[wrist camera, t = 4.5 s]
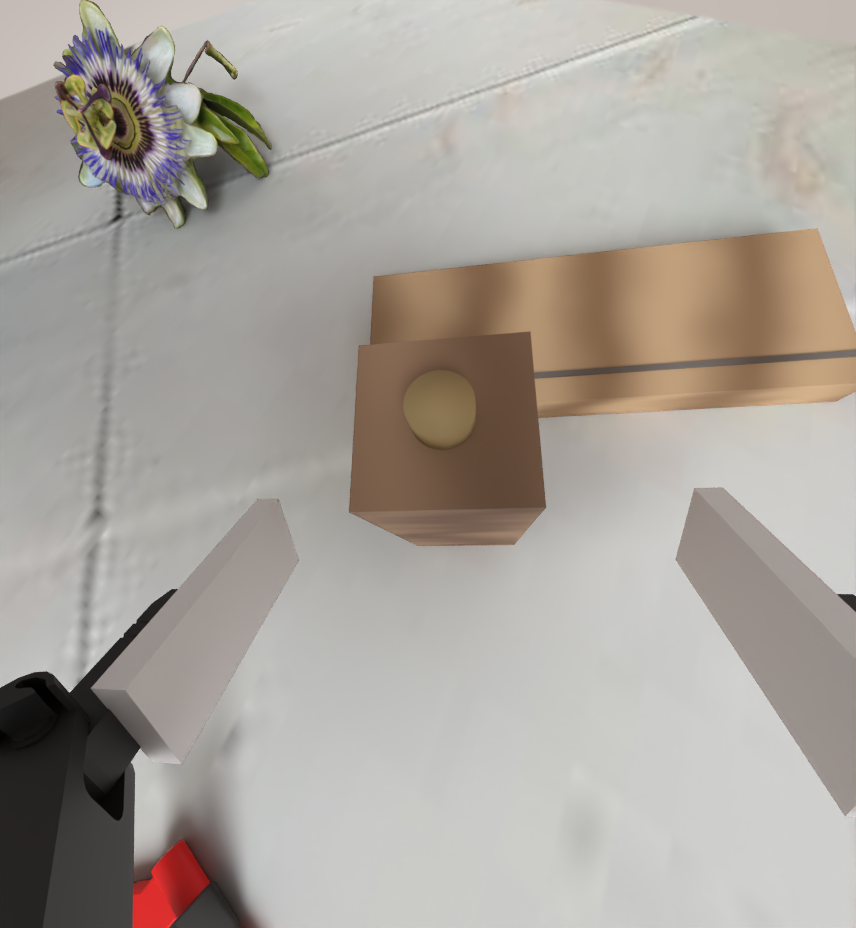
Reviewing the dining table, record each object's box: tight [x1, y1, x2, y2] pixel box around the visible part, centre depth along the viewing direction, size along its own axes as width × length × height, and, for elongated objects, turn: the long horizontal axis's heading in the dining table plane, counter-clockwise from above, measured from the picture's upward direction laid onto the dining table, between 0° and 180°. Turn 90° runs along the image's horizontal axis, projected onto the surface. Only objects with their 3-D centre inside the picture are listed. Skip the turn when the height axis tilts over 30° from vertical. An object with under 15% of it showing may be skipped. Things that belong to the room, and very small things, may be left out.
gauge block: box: [349, 331, 546, 546], centre depth 15 cm, size 5×5×12 cm
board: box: [370, 228, 856, 418], centre depth 22 cm, size 24×9×2 cm, turn 90°
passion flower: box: [54, 0, 272, 228], centre depth 28 cm, size 11×11×12 cm
